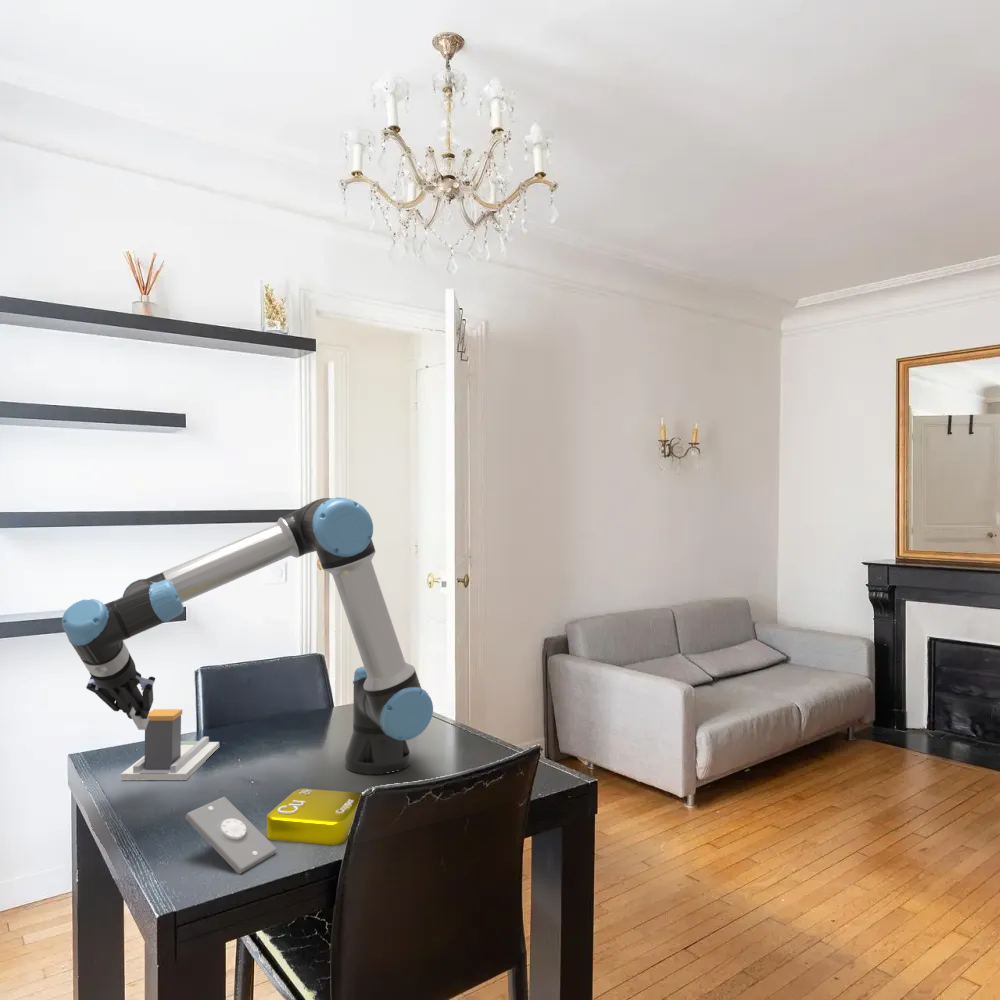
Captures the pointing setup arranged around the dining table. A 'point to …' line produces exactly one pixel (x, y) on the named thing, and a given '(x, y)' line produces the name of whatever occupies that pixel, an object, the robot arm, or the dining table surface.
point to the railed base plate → (175, 763)
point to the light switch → (231, 834)
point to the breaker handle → (163, 738)
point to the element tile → (313, 817)
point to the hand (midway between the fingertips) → (144, 723)
